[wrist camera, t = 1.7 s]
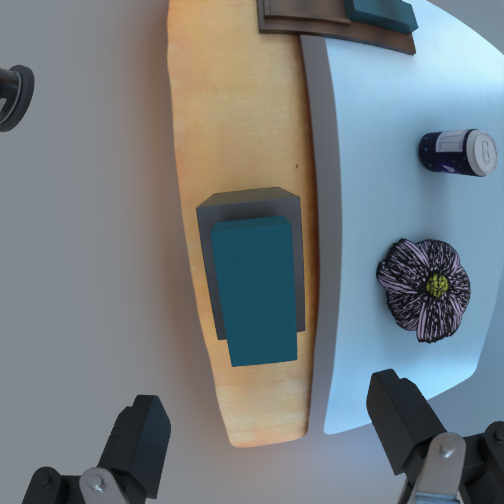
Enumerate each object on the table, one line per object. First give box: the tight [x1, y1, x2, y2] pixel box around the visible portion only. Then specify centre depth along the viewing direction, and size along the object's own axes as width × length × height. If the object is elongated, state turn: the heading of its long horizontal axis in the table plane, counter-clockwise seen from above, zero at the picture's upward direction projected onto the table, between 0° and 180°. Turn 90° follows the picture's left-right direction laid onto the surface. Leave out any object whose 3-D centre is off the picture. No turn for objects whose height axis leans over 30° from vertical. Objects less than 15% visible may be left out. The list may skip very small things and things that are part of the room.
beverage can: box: [419, 129, 498, 177], centre depth 26 cm, size 6×6×12 cm
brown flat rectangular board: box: [257, 0, 418, 55], centre depth 24 cm, size 23×11×4 cm, turn 92°
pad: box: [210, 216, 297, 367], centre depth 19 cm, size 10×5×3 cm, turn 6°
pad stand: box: [196, 187, 305, 340], centre depth 28 cm, size 12×8×15 cm, turn 6°
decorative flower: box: [376, 238, 470, 344], centre depth 33 cm, size 14×12×15 cm
